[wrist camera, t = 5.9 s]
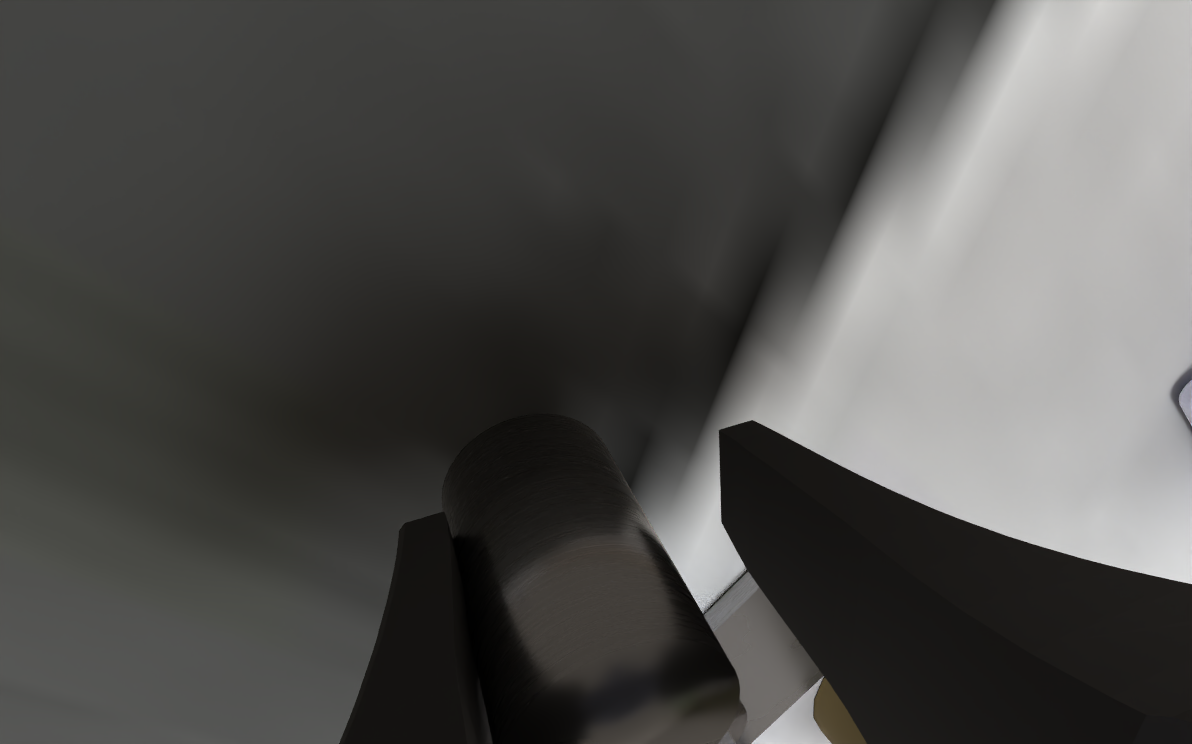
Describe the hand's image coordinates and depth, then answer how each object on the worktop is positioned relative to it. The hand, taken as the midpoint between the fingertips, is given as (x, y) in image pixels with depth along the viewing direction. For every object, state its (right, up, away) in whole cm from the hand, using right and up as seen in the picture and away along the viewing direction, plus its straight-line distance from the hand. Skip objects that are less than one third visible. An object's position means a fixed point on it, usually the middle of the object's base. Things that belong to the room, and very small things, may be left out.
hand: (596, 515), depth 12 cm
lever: (+2, -6, +7) cm, 9 cm away
